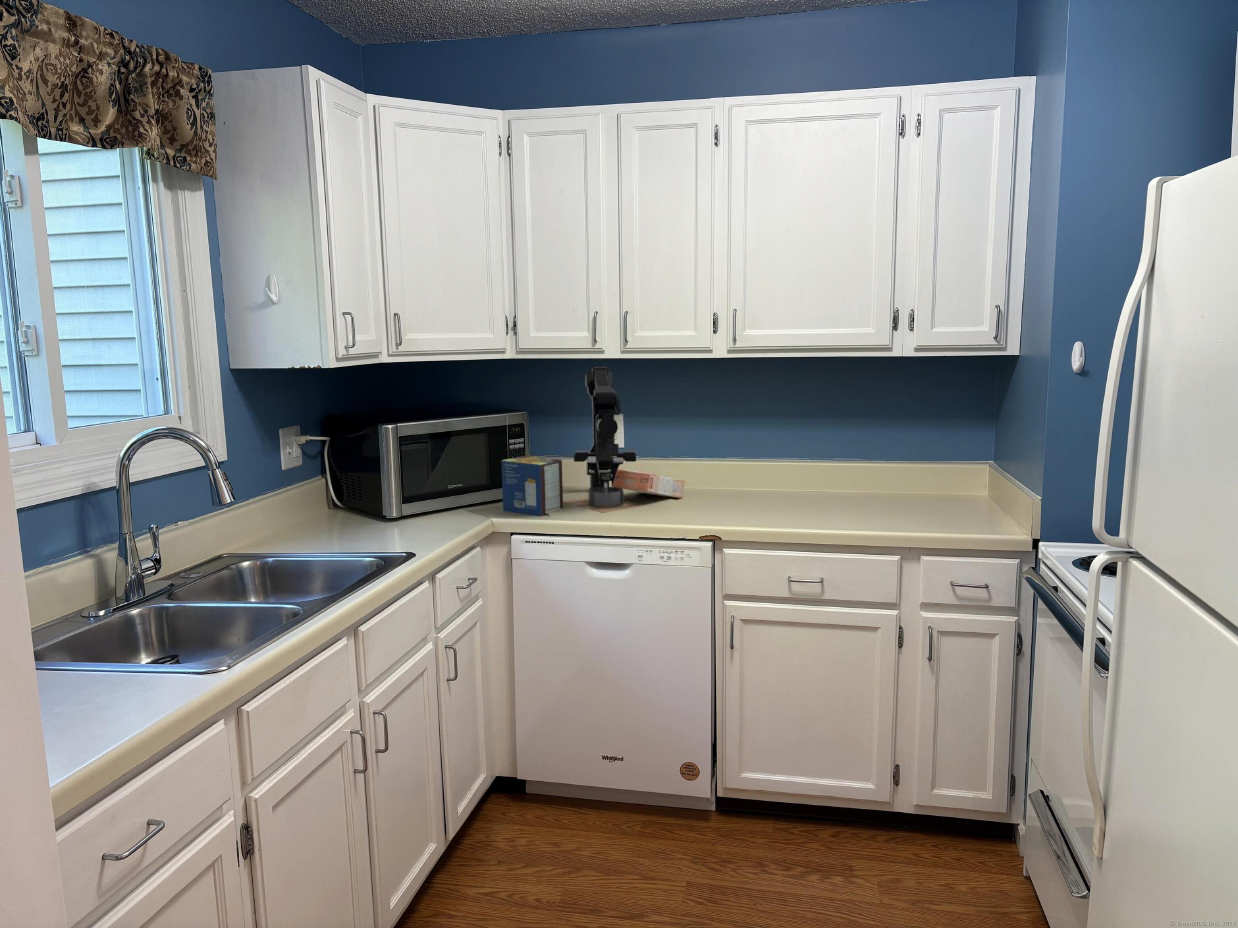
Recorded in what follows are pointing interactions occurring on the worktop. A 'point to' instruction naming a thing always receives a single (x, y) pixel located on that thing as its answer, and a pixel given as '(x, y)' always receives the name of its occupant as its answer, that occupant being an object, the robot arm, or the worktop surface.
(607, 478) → the plunger
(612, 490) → the gray faceted ring
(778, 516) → the worktop surface
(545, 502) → the protein box
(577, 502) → the board
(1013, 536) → the worktop surface
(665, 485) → the cracker box
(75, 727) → the worktop surface
